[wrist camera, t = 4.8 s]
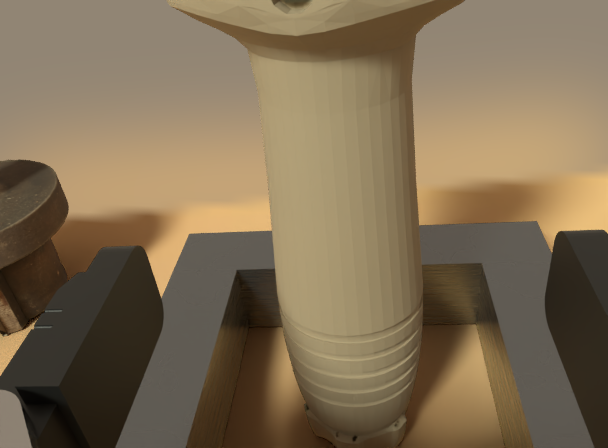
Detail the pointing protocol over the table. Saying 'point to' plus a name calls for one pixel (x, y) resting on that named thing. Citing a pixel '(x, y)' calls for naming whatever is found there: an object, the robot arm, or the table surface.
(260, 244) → the socket block
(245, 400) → the table surface
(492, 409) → the table surface
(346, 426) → the handle
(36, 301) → the industrial component
